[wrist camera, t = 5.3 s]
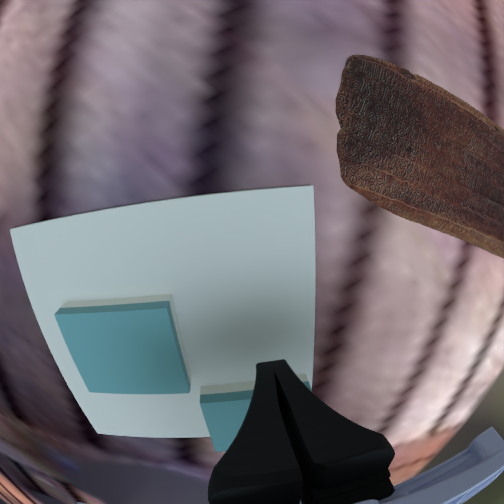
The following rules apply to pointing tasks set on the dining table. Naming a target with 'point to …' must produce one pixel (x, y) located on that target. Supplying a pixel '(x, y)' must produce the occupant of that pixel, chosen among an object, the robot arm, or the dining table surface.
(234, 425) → the flat tile
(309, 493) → the robot arm
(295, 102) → the dining table surface
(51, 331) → the felt mat
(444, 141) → the wooden tablet
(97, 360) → the tile
